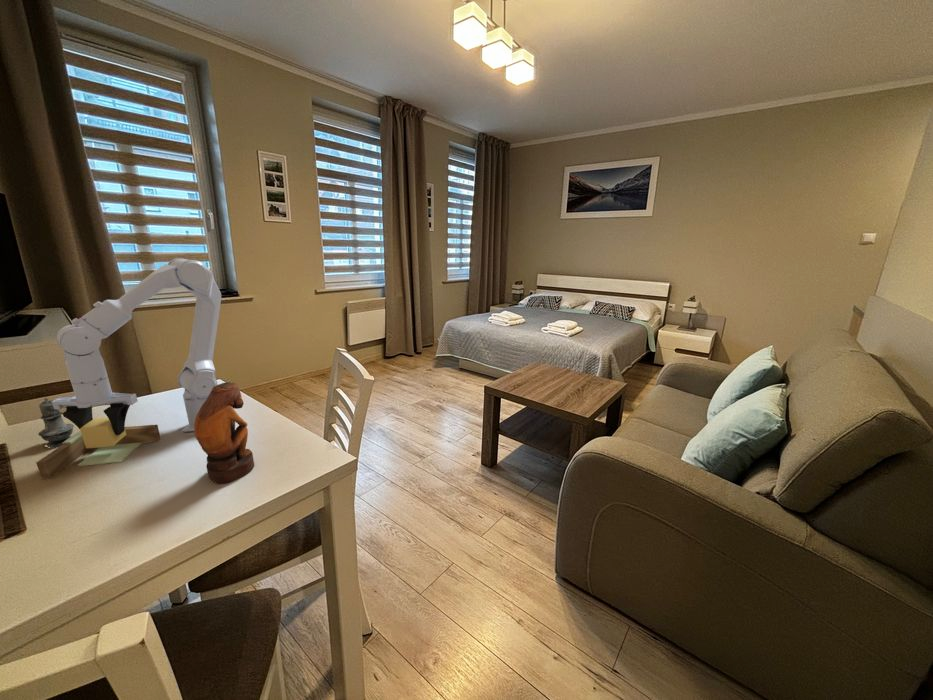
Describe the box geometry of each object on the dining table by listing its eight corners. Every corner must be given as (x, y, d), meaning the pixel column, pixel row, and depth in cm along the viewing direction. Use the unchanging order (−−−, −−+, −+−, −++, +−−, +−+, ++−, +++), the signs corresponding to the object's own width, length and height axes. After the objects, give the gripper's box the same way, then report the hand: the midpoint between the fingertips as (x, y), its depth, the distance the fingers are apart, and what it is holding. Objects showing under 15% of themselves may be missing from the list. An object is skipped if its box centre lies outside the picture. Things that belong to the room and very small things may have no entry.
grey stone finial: (54, 450, 87) (39, 404, 83) (35, 447, 88) (19, 401, 84) (84, 438, 92) (70, 394, 89) (66, 435, 94) (51, 391, 90)
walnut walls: (160, 438, 93) (156, 422, 92) (126, 470, 80) (121, 453, 79) (89, 444, 90) (84, 427, 88) (42, 479, 77) (35, 460, 76)
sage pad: (141, 443, 91) (141, 442, 91) (120, 462, 83) (120, 460, 83) (102, 446, 89) (102, 445, 89) (78, 466, 82) (77, 464, 81)
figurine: (264, 463, 85) (251, 382, 79) (225, 488, 76) (208, 400, 70) (235, 455, 87) (221, 376, 81) (195, 478, 79) (176, 392, 73)
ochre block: (126, 434, 88) (121, 415, 86) (113, 445, 83) (107, 426, 82) (101, 436, 87) (95, 417, 85) (86, 448, 82) (79, 428, 80)
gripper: (32, 388, 75) (52, 446, 79) (117, 384, 79) (131, 440, 83) (60, 375, 82) (77, 430, 86) (137, 372, 85) (149, 425, 89)
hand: (105, 434), depth 85 cm, fingers closed on ochre block, 5 cm apart
